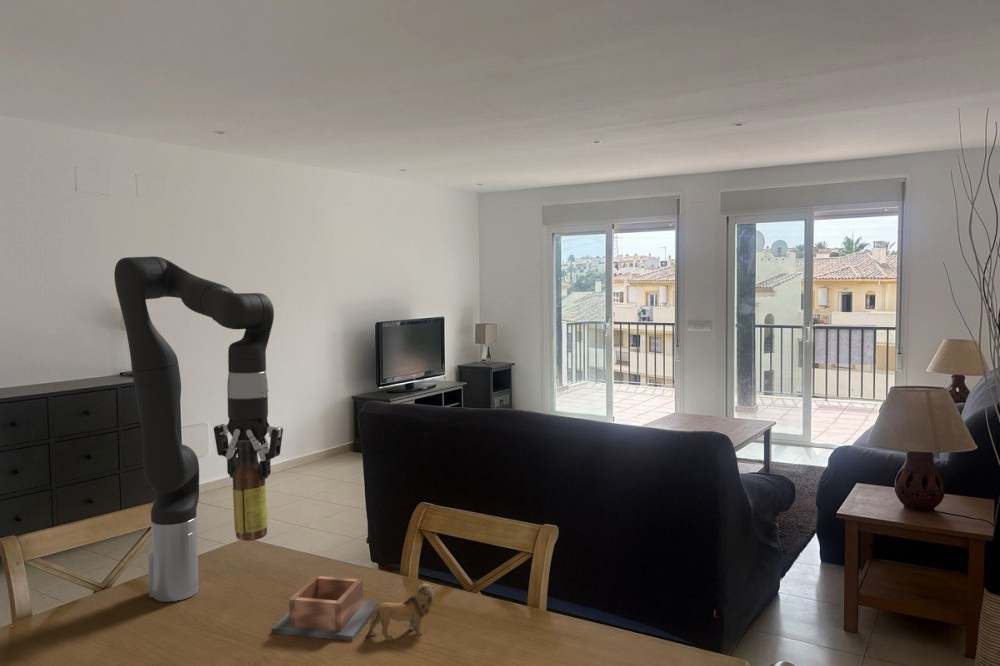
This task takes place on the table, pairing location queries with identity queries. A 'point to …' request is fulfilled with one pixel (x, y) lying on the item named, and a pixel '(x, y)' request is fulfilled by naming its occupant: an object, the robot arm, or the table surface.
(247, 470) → the sauce bottle
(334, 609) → the bottle holder
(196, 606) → the table surface
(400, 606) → the lion figurine
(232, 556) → the table surface
